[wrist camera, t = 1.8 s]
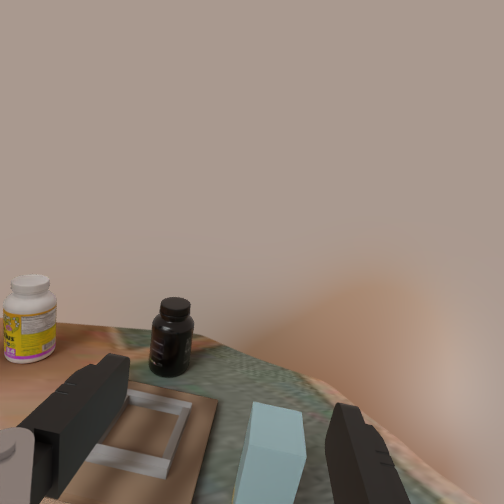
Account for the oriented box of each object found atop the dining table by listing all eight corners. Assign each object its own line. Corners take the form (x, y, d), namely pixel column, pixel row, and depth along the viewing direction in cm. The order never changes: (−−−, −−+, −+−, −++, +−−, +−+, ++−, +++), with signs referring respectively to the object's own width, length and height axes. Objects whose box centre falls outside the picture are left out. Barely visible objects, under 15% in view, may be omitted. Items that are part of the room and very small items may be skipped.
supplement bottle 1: (3, 346, 47) (1, 273, 44) (52, 337, 52) (53, 270, 49) (4, 370, 43) (2, 290, 40) (58, 358, 47) (60, 285, 44)
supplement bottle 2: (174, 349, 55) (182, 291, 52) (196, 369, 51) (206, 307, 48) (140, 361, 50) (146, 298, 47) (161, 384, 46) (170, 316, 43)
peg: (226, 544, 28) (248, 444, 25) (233, 490, 32) (253, 401, 30) (277, 556, 27) (306, 457, 25) (277, 500, 32) (301, 412, 29)
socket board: (26, 492, 29) (26, 471, 28) (114, 384, 44) (115, 368, 43) (184, 529, 28) (188, 509, 27) (216, 406, 44) (219, 391, 43)
